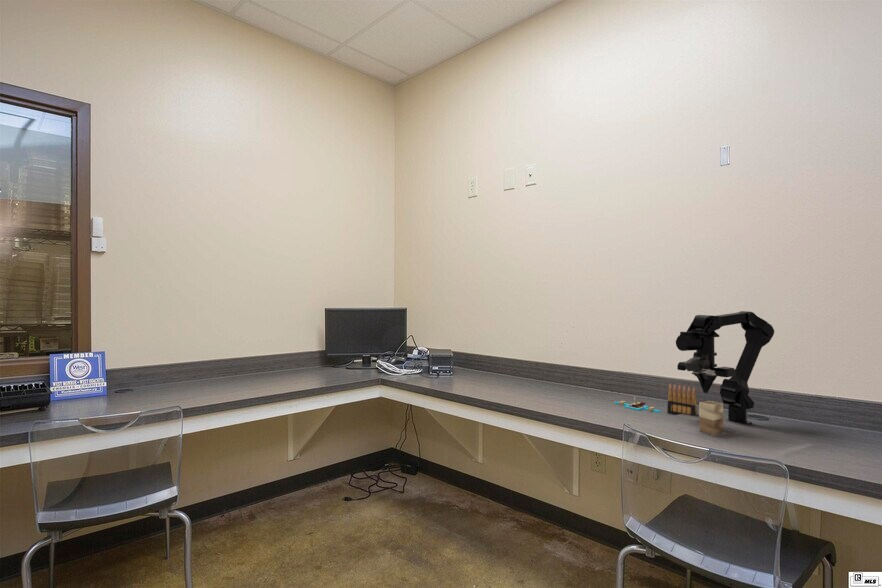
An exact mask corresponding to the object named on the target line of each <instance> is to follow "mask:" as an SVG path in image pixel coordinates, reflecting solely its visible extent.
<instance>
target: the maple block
mask: <svg viewBox="0 0 882 588" xmlns="http://www.w3.org/2000/svg"><path fill="white" fill-rule="evenodd" d="M698 405H699V406H698V409H699V412H698V413H699V415H698V416H699V417H702V418H706V419H710V420H718V419H723V420H724V404H723V402H717V401H713V400H703V401H699V402H698Z"/></svg>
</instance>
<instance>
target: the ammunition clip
mask: <svg viewBox="0 0 882 588" xmlns="http://www.w3.org/2000/svg"><path fill="white" fill-rule="evenodd" d="M668 385H669V386H668V393H667V396H668V397H667V409H666V410H667V411H666V414H670V415H676V416H677V415H683V414H684V415H689V416H695V417H696V416H698V405H697V394H696V388H695V386H693V387H692V390H691V387H690V386H689V385H688V387H687V388H686V385H683V388H682V386H681V384H679V385H678V387H677V385H676V384H673V387H672V383H669V384H668Z"/></svg>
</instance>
